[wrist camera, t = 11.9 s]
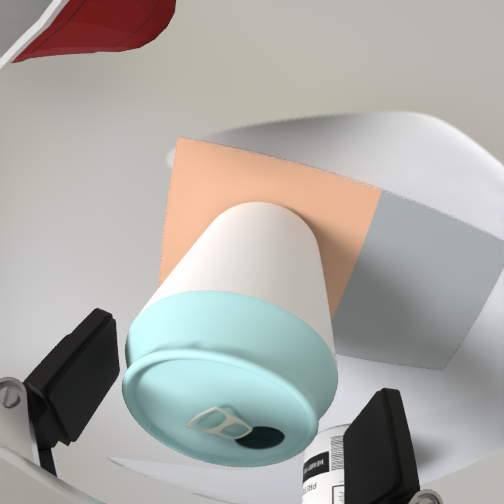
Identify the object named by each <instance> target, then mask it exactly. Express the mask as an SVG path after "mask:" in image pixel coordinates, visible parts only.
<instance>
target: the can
mask: <svg viewBox="0 0 504 504" xmlns="http://www.w3.org/2000/svg"><path fill="white" fill-rule="evenodd" d="M125 357H126V364H127V371H126V373H125V375H124V378H123V381H122V393H123V398H124V401H125V403H126V405H127V408H128V409H129V411H130V413H131V414H132V416H133V417H134V419H135V420H136V421H137V422H138V424H139V425H140V426H141V427H142V428H143V429H144V430H145V431H147V432H148V433H149V434H150V435H151V436H153V437H154V438H155V439H157V440H158V441H159V442H161V443H163V444H164V445H166V446H167V447H169V448H171V449H173V450H175V451H177V452H179V453H181V454H184V455H187V456H189V457H191V458H194V459H197V460H200V461H204V462H208V463H212V464H217V465H223V466H231V467H259V466H266V465H272V464H276V463H279V462H283V461H285V460H288V459H290V458H292V457H294V456H296V455H297V454H299V453H301V452H302V451H303V450H305V449H306V448H307V447H308V446H309V445H310V444H311V443H312V441H313V440H314V438H315V437H316V434H317V431H318V426H319V422H318V421H319V420H320V418H321V417H322V416H323V415H324V414H325V413H326V411H327V410H328V408H329V407H330V405H331V403H332V401H333V399H334V396H335V393H336V390H337V384H338V371H337V362H336V354H335V346H334V339H333V332H332V325H331V318H330V311H329V305H328V298H327V292H326V286H325V280H324V274H323V269H322V263H321V257H320V252H319V247H318V244H317V241H316V238H315V236H314V234H313V232H312V231H311V229H310V228H309V227H308V225H307V224H306V223H305V222H304V221H303V220H302V219H301V218H300V217H299V216H297V215H296V214H295V213H293V212H292V211H290V210H288V209H286V208H284V207H282V206H279V205H276V204H272V203H266V202H250V203H244V204H240V205H237V206H234V207H232V208H230V209H228V210H226V211H225V212H223V213H222V214H221V215H219V216H218V217H217V218H216V219H215V220H214V221H213V222H212V224H211V225H210V226H209V227H208V228H207V229H206V231H205V232H204V233H203V234H202V236H201V237H200V238H199V239H198V240H197V242H196V243H195V244H194V245H193V246H192V248H191V249H190V250H189V251H188V253H187V254H186V255H185V256H184V257H183V259H182V260H181V261H180V262H179V264H178V265H177V266H176V267H175V269H174V270H173V271H172V272H171V274H170V275H169V276H168V277H167V279H166V280H165V281H164V283H163V284H162V285H161V286H160V288H159V289H158V290H157V291H156V293H155V294H154V295H153V297H152V298H151V299H150V301H149V302H148V303H147V304H146V306H145V307H144V308H143V310H142V311H141V312H140V314H139V315H138V316H137V318H136V319H135V320H134V322H133V323H132V325H131V327H130V329H129V332H128V335H127V339H126V345H125Z"/></svg>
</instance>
